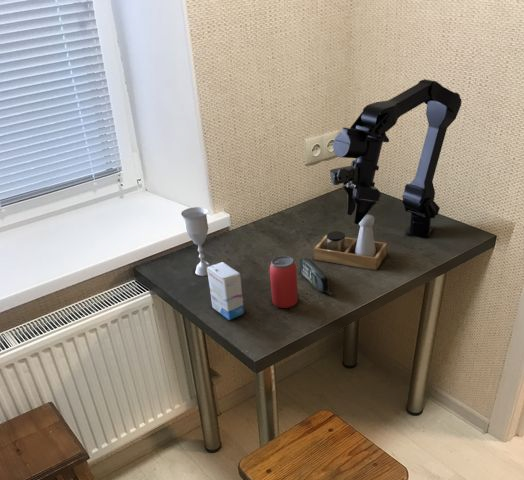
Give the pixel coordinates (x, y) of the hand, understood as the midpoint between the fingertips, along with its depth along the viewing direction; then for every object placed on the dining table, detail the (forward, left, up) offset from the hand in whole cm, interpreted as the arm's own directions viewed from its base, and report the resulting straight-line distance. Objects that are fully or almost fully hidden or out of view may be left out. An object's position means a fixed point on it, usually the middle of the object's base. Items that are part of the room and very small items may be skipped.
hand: (352, 219), depth 150 cm
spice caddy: (-4, -2, -13) cm, 14 cm away
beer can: (+24, -9, -14) cm, 29 cm away
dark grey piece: (+13, -5, -14) cm, 20 cm away
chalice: (+17, -38, -14) cm, 44 cm away
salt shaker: (-4, +3, -14) cm, 14 cm away
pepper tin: (-4, -6, -13) cm, 15 cm away
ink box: (+33, -22, -14) cm, 41 cm away
